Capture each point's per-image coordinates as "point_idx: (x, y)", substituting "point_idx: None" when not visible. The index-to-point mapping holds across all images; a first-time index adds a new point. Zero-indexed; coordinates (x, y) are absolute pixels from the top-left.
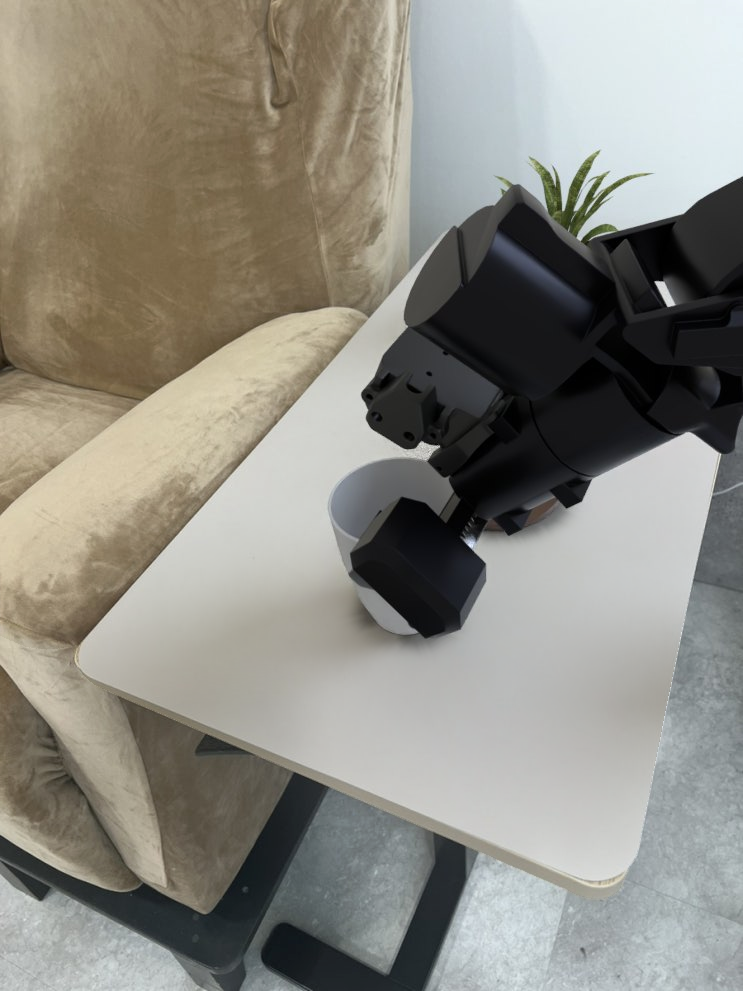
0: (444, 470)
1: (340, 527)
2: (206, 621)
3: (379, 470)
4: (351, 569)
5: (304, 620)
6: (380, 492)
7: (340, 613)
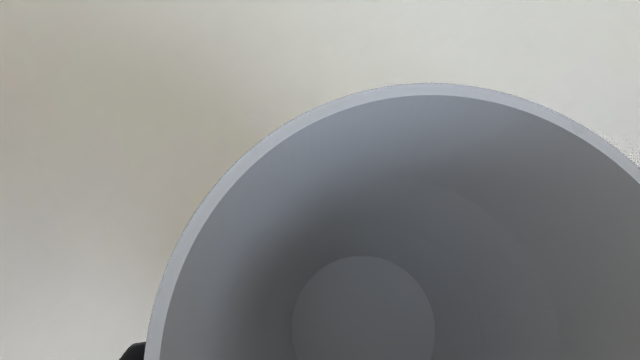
0: None
1: (318, 174)
2: (140, 19)
3: (574, 168)
4: (139, 353)
5: (228, 169)
6: (516, 191)
7: None
